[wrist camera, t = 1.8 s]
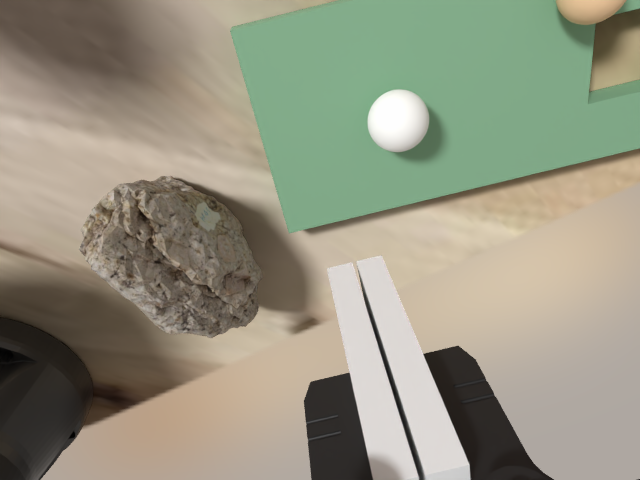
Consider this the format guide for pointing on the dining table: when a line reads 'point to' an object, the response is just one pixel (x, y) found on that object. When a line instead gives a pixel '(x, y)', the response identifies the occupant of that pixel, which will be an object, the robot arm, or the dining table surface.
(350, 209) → the putting mat
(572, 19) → the orange ball
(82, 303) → the dining table surface
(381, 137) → the white ball
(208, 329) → the rock
